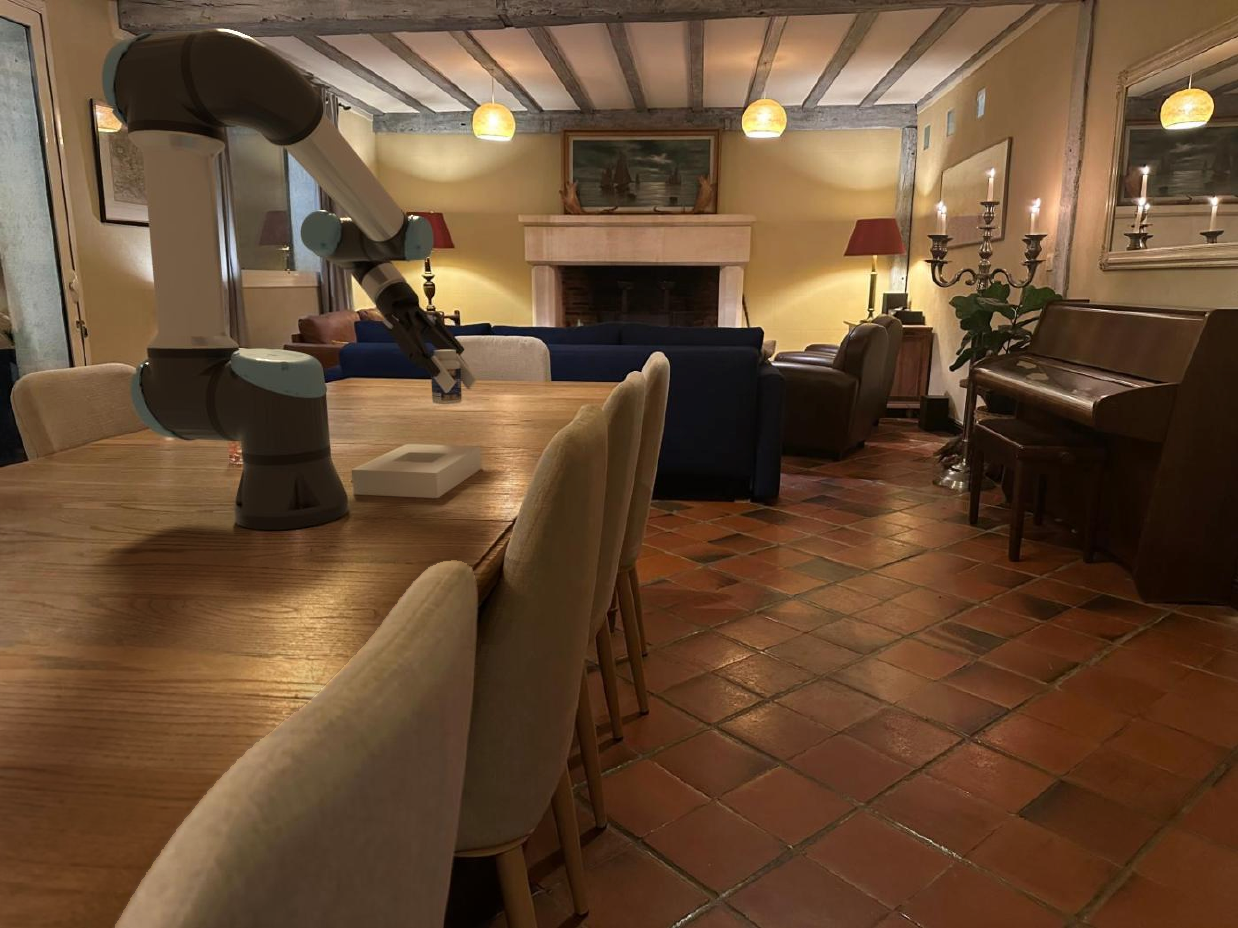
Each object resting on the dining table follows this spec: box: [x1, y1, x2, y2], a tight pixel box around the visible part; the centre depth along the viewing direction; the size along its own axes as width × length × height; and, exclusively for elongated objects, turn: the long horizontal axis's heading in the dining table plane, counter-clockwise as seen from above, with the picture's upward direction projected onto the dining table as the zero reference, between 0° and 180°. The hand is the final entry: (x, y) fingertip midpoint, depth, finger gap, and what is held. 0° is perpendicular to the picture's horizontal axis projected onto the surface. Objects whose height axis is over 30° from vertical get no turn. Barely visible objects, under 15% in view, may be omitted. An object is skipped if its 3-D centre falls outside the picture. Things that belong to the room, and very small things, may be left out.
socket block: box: [351, 443, 483, 499], centre depth 136 cm, size 14×20×4 cm
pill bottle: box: [430, 349, 463, 405], centre depth 150 cm, size 5×5×10 cm
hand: (461, 385), depth 149 cm, fingers closed on pill bottle, 5 cm apart
